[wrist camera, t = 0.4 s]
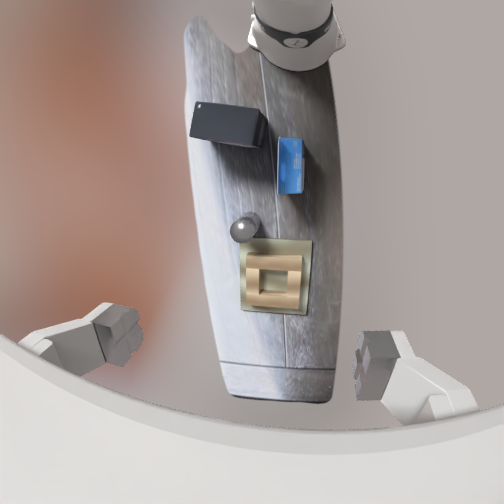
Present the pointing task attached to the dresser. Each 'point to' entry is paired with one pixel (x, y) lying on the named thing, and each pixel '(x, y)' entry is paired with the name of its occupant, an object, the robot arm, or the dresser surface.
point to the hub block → (275, 275)
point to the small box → (228, 124)
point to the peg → (245, 227)
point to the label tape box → (290, 166)
